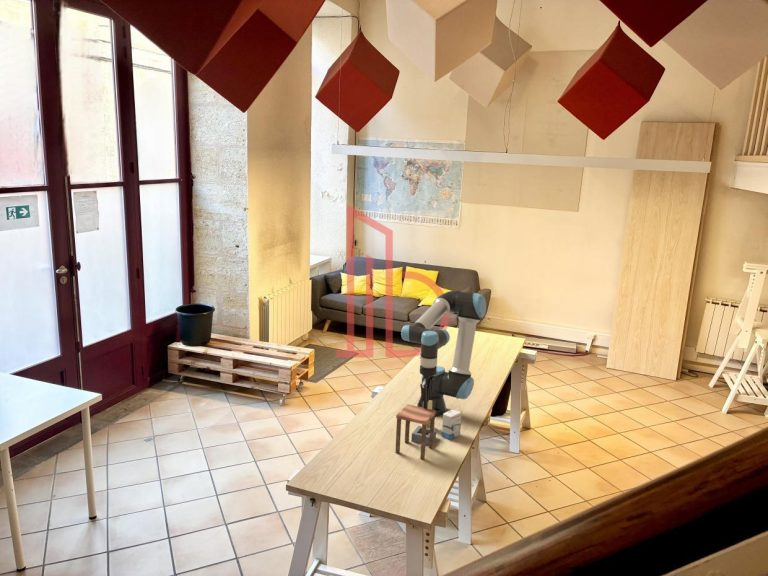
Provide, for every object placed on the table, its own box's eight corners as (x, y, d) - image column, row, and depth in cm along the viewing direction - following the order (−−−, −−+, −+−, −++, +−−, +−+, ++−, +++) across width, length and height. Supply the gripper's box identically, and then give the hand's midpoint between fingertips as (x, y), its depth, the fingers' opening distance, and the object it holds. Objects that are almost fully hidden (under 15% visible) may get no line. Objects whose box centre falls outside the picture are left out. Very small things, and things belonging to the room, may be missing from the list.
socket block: (418, 433, 289) (418, 425, 288) (435, 437, 285) (436, 429, 284) (411, 441, 281) (411, 433, 280) (429, 445, 277) (429, 437, 276)
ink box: (449, 440, 283) (450, 417, 280) (441, 436, 287) (442, 413, 284) (460, 434, 289) (462, 412, 286) (452, 431, 292) (453, 408, 290)
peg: (424, 424, 298) (425, 398, 295) (432, 426, 296) (433, 400, 293) (421, 428, 294) (423, 401, 291) (429, 429, 293) (430, 403, 290)
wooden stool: (405, 440, 281) (407, 404, 277) (433, 447, 275) (435, 410, 271) (394, 452, 269) (396, 415, 265) (423, 460, 264) (425, 421, 260)
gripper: (425, 359, 276) (423, 407, 282) (415, 368, 265) (412, 417, 270) (441, 362, 273) (438, 410, 279) (431, 371, 262) (428, 421, 267)
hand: (425, 413), depth 274 cm, fingers closed
